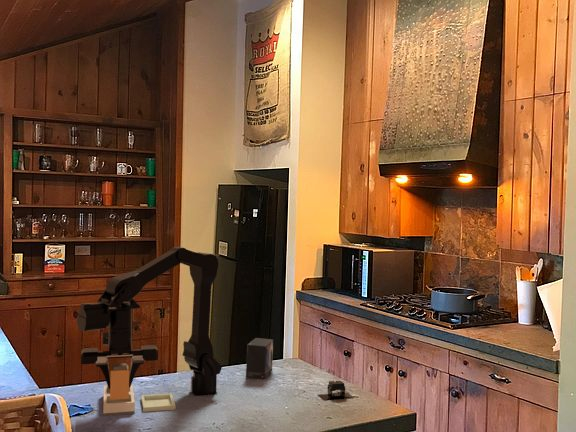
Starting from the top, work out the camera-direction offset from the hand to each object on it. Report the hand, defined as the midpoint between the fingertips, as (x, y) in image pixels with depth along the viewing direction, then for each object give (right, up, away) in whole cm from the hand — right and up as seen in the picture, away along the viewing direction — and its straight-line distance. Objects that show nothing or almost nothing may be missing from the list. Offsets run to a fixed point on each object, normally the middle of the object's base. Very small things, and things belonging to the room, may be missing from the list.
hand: (119, 387), depth 155 cm
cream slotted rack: (-1, -6, +4) cm, 7 cm away
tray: (+9, -6, +5) cm, 12 cm away
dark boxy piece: (+57, -8, +17) cm, 60 cm away
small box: (+34, -7, +38) cm, 51 cm away
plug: (0, -2, 0) cm, 2 cm away
